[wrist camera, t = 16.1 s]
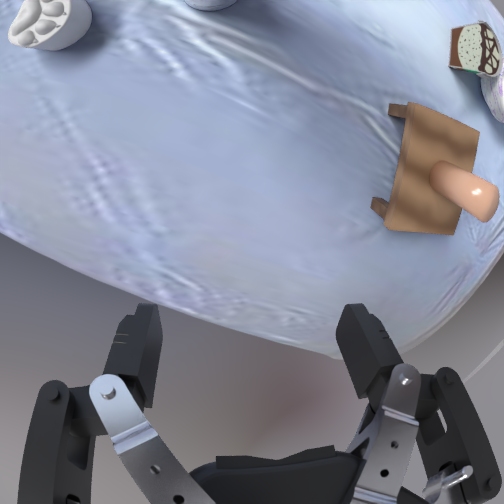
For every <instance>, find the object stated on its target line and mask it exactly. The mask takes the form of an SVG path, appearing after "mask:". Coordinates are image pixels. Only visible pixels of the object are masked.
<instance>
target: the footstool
mask: <svg viewBox="0 0 504 504" xmlns="http://www.w3.org/2000/svg"><path fill="white" fill-rule="evenodd" d="M388 115H392V116H395V117H399V118H404V119H406V120H405V127H404V133H403V139H402V145H401V151H400V156H399V161H398V166H397V171H396V176H395V180H394V185H393V189H392V193H391V197H390V201H389V203H388V202H386V201H385V200H384V199H382V198H376V197H373V199H372V204H371V208H372V209H373V210H374V211H375V212H376V213H377V214H379V215H380V216H381V217H382V218H383V219H384V225H385V226H386V227H387V228H388V229H389V230H396V231H410V232H422V233H434V234H445V235H454V232H455V229H456V226H457V223H458V220H459V217H460V214H461V211H462V208H461V207H460V206H458V205H457V204H455V203H453V202H452V201H450V200H449V199H447V198H446V197H444V196H442V195H441V194H439V193H437V192H436V191H434V190H433V189H432V187H431V185H430V173H431V170H432V168H433V166H434V165H435V164H436V163H437V162H438V161H441V160H444V161H447V162H449V163H451V164H454V165H456V166H458V167H460V168H462V169H464V170H466V171H468V172H470V173H472V170H473V166H474V161H475V156H476V151H477V146H478V140H479V134H480V132H479V131H477V130H475V129H473V128H471V127H469V126H467V125H465V124H463V123H461V122H459V121H457V120H455V119H453V118H450V117H448V116H446V115H444V114H441V113H439V112H437V111H434V110H432V109H429V108H427V107H424V106H422V105H419V104H417V103H411V102H408V105H407V106H406V105H399V104H390V103H389V111H388Z"/></svg>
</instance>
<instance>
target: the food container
mask: <svg viewBox="0 0 504 504" xmlns="http://www.w3.org/2000/svg"><path fill="white" fill-rule="evenodd" d="M478 21H479V23H474V24H469V25H464V26H459V27H455V28H451V35H450V52H449V63H448V66H449V67H451V68H453V69H459V70H464V71H469V72H473V73H478V74H476V75H478V76H479V77H481V78H485V79H487V78H493V77H496V76H498V75H499V74H500V72H501V70H502V66H503V56H502V50H501V47H500V44H499V41H498V39H497V37H496V35H495V33H494V31H493V30H492V28H491V27H490V26H489V25H488V24H487V23H486V22H484V21H481V20H478Z"/></svg>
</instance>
